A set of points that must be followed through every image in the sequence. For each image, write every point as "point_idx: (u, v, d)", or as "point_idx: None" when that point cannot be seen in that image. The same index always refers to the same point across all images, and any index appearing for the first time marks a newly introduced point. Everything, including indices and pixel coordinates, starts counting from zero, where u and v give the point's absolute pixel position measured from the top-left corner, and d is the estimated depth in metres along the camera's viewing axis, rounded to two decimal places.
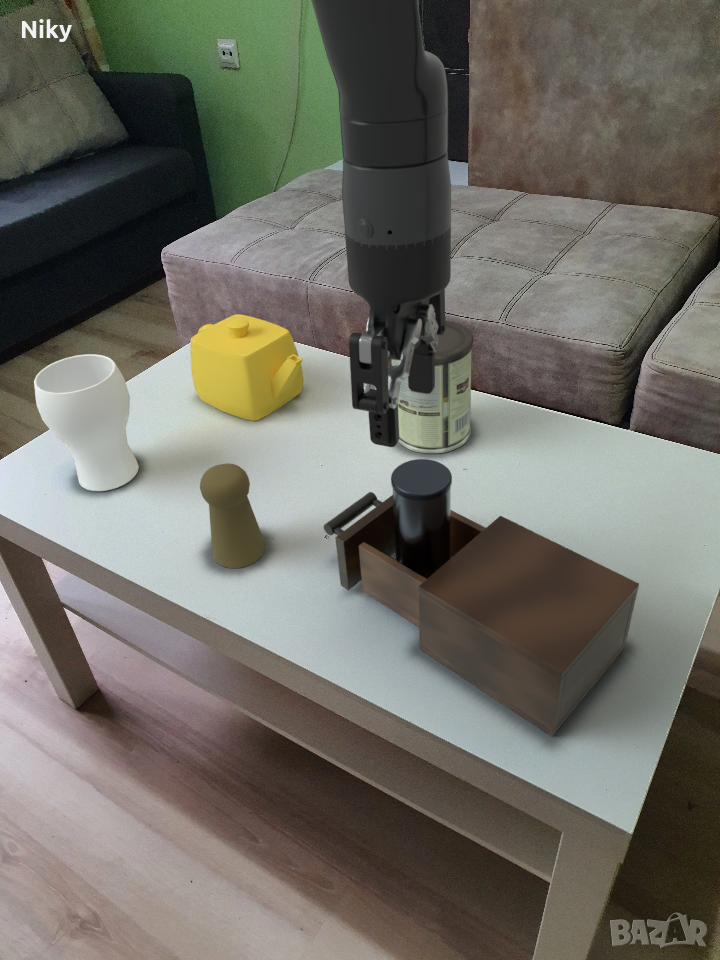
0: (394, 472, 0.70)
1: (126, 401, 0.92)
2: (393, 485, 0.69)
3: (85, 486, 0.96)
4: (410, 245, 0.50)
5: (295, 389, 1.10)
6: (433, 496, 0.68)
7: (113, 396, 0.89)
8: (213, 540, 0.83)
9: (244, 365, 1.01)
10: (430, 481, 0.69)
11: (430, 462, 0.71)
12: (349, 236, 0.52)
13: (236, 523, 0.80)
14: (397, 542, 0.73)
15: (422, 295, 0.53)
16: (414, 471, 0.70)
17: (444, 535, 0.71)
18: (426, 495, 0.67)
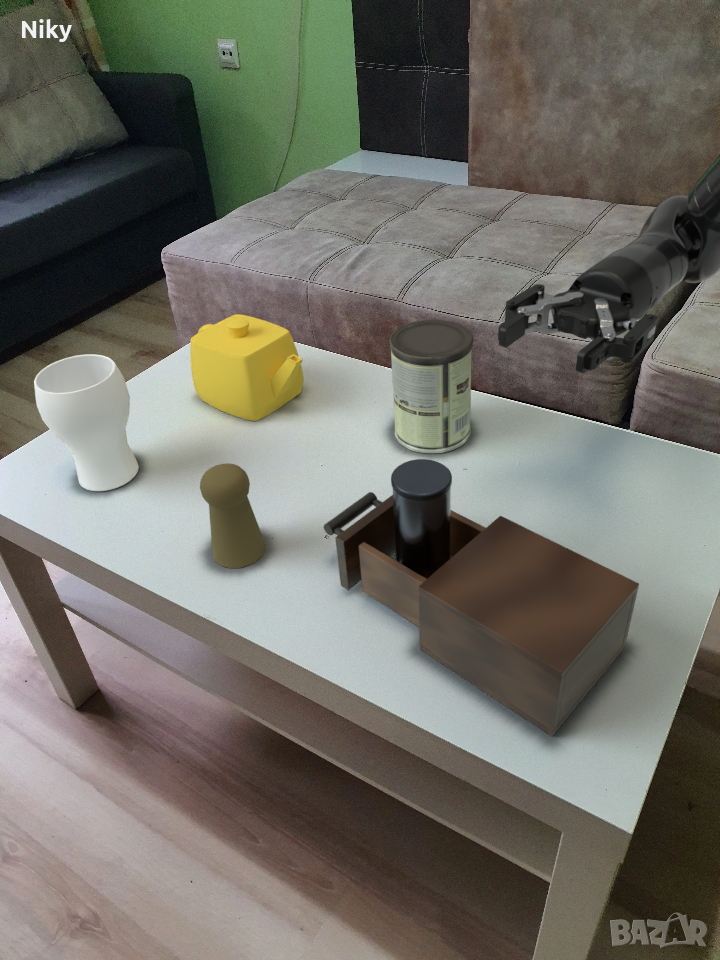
0: (394, 472, 0.70)
1: (126, 401, 0.92)
2: (393, 485, 0.69)
3: (85, 486, 0.96)
4: None
5: (295, 389, 1.10)
6: (433, 496, 0.68)
7: (113, 396, 0.89)
8: (213, 540, 0.83)
9: (244, 365, 1.01)
10: (430, 481, 0.69)
11: (430, 462, 0.71)
12: None
13: (236, 523, 0.80)
14: (397, 542, 0.73)
15: (582, 273, 0.78)
16: (414, 471, 0.70)
17: (444, 535, 0.71)
18: (426, 495, 0.67)
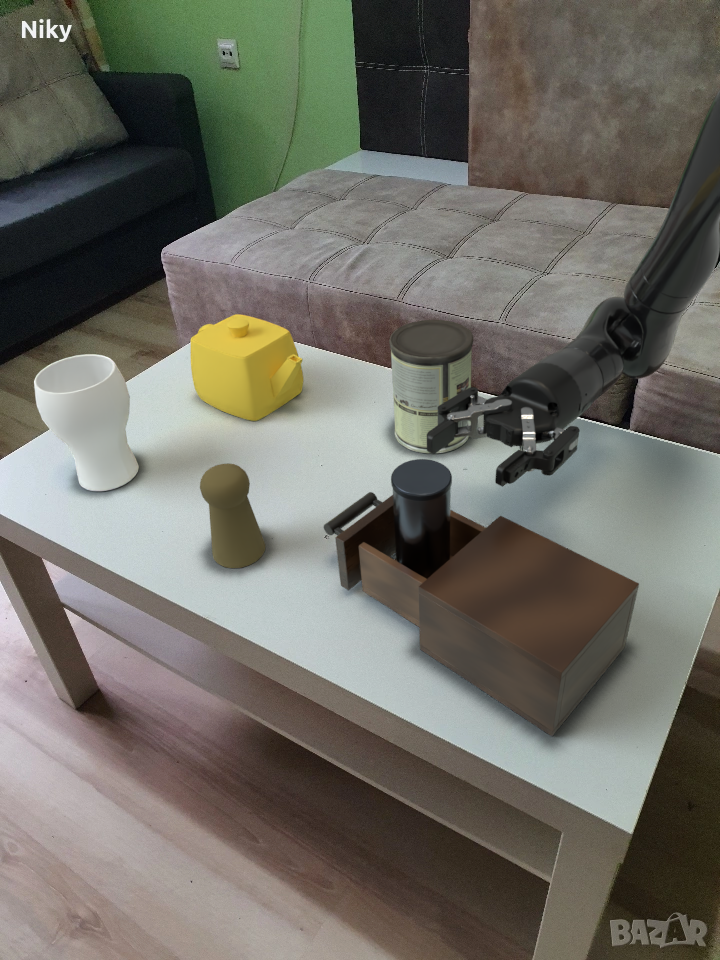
0: (394, 472, 0.70)
1: (126, 401, 0.92)
2: (393, 485, 0.69)
3: (85, 486, 0.96)
4: None
5: (295, 389, 1.10)
6: (433, 496, 0.68)
7: (113, 396, 0.89)
8: (213, 540, 0.83)
9: (244, 365, 1.01)
10: (430, 481, 0.69)
11: (430, 462, 0.71)
12: None
13: (236, 523, 0.80)
14: (397, 542, 0.73)
15: (513, 380, 0.81)
16: (414, 471, 0.70)
17: (444, 535, 0.71)
18: (426, 495, 0.67)
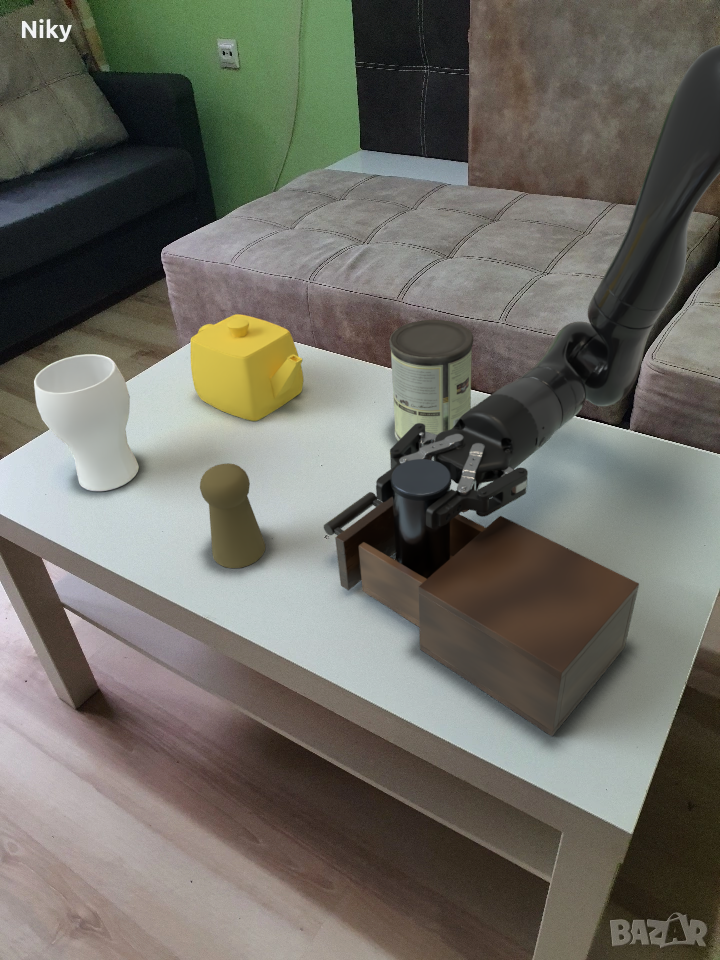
0: (394, 472, 0.70)
1: (126, 401, 0.92)
2: (392, 485, 0.69)
3: (85, 486, 0.96)
4: None
5: (295, 389, 1.10)
6: (433, 496, 0.68)
7: (113, 396, 0.89)
8: (213, 540, 0.83)
9: (244, 365, 1.01)
10: (429, 481, 0.69)
11: (429, 462, 0.71)
12: None
13: (236, 523, 0.80)
14: (397, 542, 0.73)
15: (466, 412, 0.76)
16: (413, 471, 0.70)
17: (443, 535, 0.71)
18: (425, 495, 0.67)
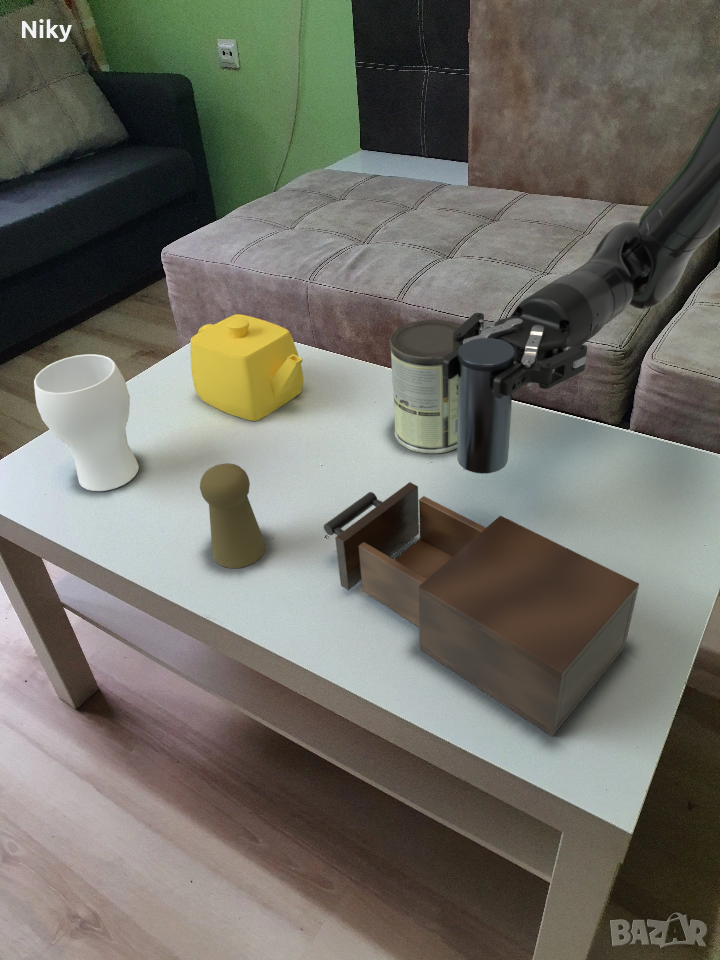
0: (460, 348, 0.74)
1: (126, 400, 0.92)
2: (460, 359, 0.73)
3: (85, 486, 0.96)
4: None
5: (295, 389, 1.10)
6: (499, 366, 0.71)
7: (113, 396, 0.89)
8: (213, 540, 0.83)
9: (244, 365, 1.01)
10: (495, 354, 0.72)
11: (493, 340, 0.75)
12: None
13: (236, 523, 0.80)
14: (460, 419, 0.77)
15: (524, 300, 0.80)
16: (479, 347, 0.74)
17: (506, 410, 0.75)
18: (492, 365, 0.71)
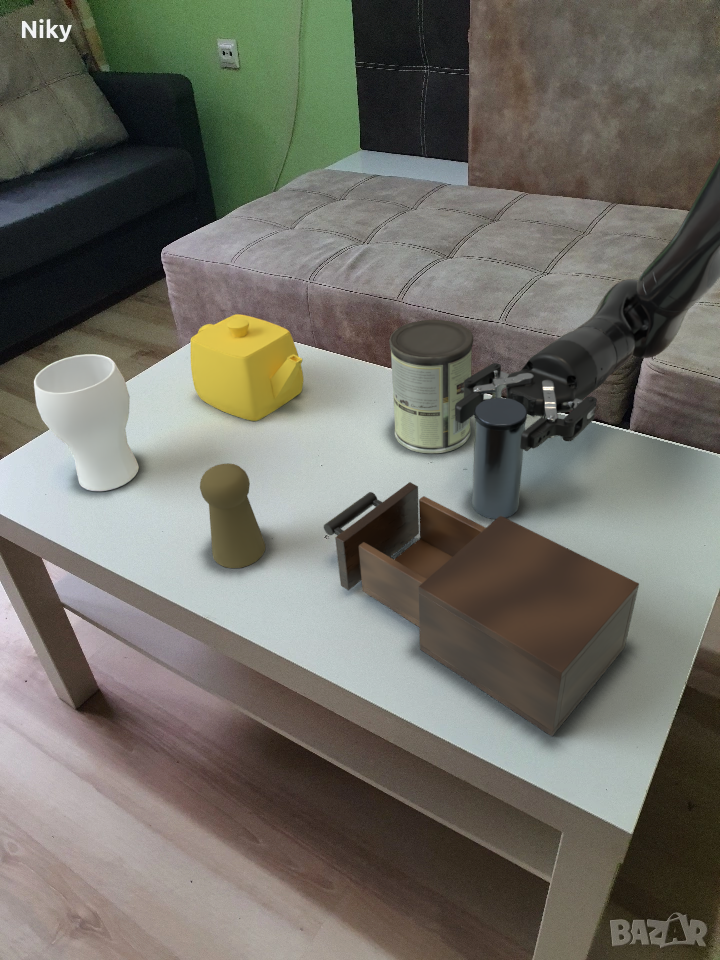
0: (476, 408, 0.82)
1: (126, 400, 0.92)
2: (477, 418, 0.80)
3: (85, 486, 0.96)
4: None
5: (295, 389, 1.10)
6: (513, 426, 0.79)
7: (113, 396, 0.89)
8: (213, 540, 0.83)
9: (244, 365, 1.01)
10: (509, 414, 0.80)
11: (507, 399, 0.83)
12: None
13: (236, 523, 0.80)
14: (476, 470, 0.85)
15: (534, 355, 0.87)
16: (494, 407, 0.82)
17: (518, 463, 0.83)
18: (506, 425, 0.79)
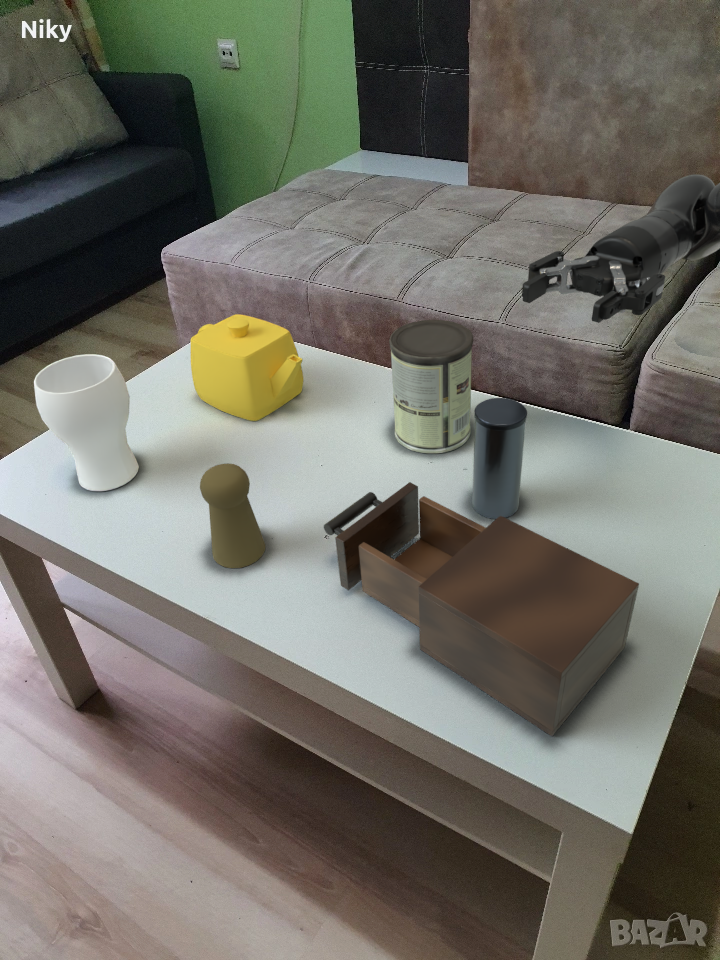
0: (476, 408, 0.82)
1: (126, 400, 0.92)
2: (477, 418, 0.80)
3: (85, 486, 0.96)
4: None
5: (295, 389, 1.10)
6: (513, 426, 0.79)
7: (113, 396, 0.89)
8: (213, 540, 0.83)
9: (244, 365, 1.01)
10: (509, 414, 0.80)
11: (507, 399, 0.83)
12: None
13: (236, 523, 0.80)
14: (476, 470, 0.85)
15: (598, 240, 0.87)
16: (494, 407, 0.82)
17: (518, 463, 0.83)
18: (506, 425, 0.79)
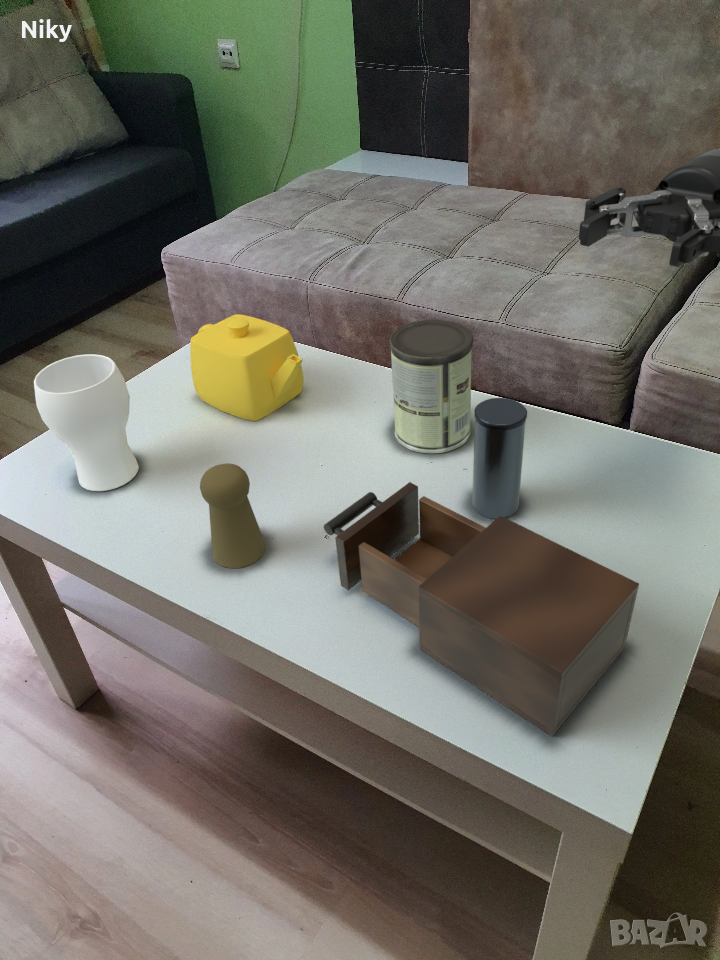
0: (476, 408, 0.82)
1: (126, 400, 0.92)
2: (477, 418, 0.80)
3: (85, 486, 0.96)
4: None
5: (295, 389, 1.10)
6: (513, 426, 0.79)
7: (113, 396, 0.89)
8: (213, 540, 0.83)
9: (244, 365, 1.01)
10: (509, 414, 0.80)
11: (507, 399, 0.83)
12: None
13: (236, 523, 0.80)
14: (476, 470, 0.85)
15: (669, 173, 0.72)
16: (494, 407, 0.82)
17: (518, 463, 0.83)
18: (506, 425, 0.79)
